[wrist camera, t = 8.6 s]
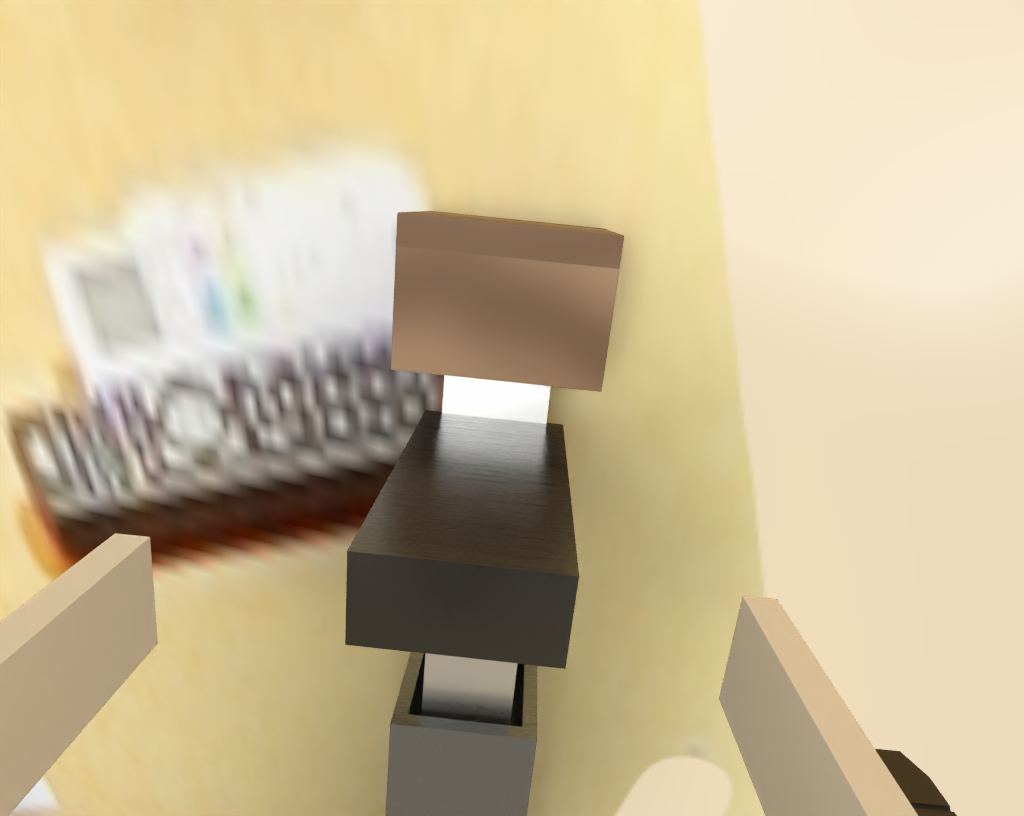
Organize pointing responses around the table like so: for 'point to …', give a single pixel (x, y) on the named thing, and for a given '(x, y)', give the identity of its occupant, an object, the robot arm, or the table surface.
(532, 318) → the brown block
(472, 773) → the sleeve
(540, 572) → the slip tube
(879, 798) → the robot arm
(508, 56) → the table surface
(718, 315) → the table surface
